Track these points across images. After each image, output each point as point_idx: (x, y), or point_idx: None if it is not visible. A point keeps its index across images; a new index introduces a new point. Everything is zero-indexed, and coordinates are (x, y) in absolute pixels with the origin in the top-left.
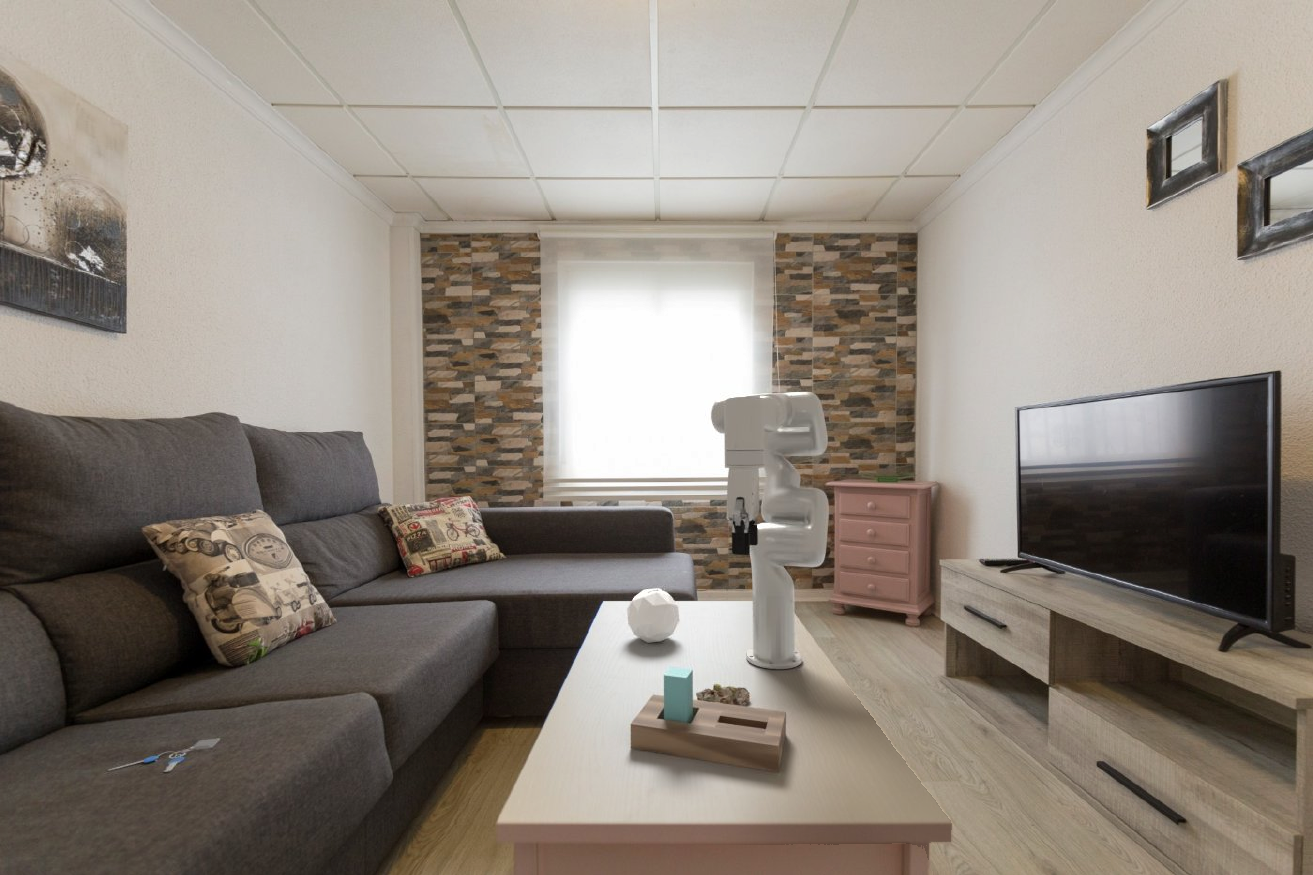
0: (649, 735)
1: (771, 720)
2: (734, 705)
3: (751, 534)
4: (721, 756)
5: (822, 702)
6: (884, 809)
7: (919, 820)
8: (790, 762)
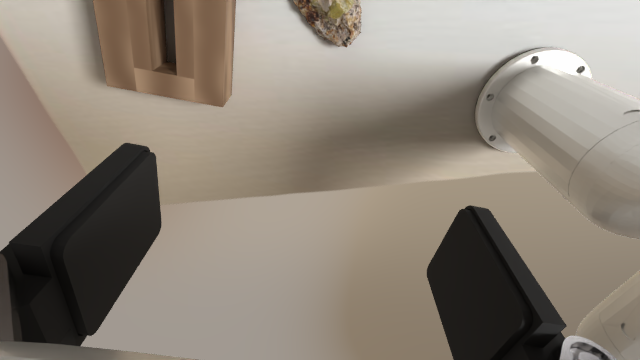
0: None
1: (185, 82)
2: (224, 18)
3: (457, 304)
4: None
5: (344, 156)
6: None
7: None
8: None
